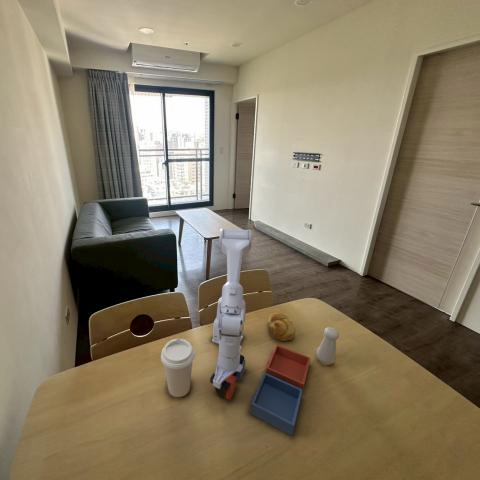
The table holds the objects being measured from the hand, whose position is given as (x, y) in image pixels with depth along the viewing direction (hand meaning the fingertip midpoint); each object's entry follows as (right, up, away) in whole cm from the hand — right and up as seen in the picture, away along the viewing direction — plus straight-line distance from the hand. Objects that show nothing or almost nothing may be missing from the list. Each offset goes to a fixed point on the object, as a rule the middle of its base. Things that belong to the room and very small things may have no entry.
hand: (227, 385), depth 74 cm
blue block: (+3, 0, +7) cm, 8 cm away
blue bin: (+14, -4, -3) cm, 15 cm away
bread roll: (+22, +7, +25) cm, 34 cm away
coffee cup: (-14, -2, +2) cm, 15 cm away
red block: (0, -2, +1) cm, 3 cm away
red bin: (+20, 0, +8) cm, 21 cm away
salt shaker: (+34, +1, +12) cm, 36 cm away
